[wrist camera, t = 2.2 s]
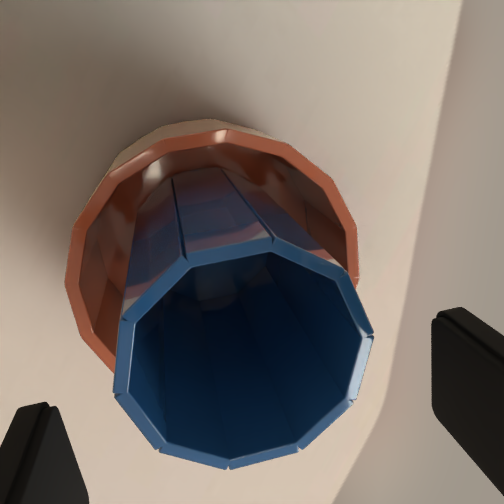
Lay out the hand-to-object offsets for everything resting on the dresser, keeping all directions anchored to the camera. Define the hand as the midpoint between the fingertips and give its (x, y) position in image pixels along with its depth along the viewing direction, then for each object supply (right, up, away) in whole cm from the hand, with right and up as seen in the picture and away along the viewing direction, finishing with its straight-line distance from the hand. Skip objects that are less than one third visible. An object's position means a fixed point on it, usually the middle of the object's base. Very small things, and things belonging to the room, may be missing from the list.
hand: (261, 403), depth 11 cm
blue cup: (-2, +4, +11) cm, 12 cm away
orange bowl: (-2, +5, +12) cm, 13 cm away
